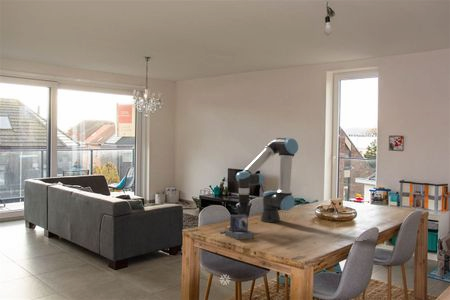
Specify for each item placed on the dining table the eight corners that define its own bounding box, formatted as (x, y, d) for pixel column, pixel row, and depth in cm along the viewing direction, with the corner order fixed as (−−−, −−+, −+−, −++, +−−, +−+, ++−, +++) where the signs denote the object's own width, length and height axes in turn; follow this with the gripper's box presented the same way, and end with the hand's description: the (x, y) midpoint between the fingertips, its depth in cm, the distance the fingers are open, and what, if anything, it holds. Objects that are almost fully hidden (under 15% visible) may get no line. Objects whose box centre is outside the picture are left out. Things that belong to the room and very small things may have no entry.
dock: (234, 230, 270) (234, 226, 270) (253, 237, 253) (253, 232, 253) (219, 233, 263) (219, 228, 263) (239, 240, 246) (239, 235, 246)
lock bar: (241, 229, 271) (241, 224, 271) (244, 230, 269) (244, 225, 269) (226, 232, 264) (226, 226, 264) (228, 233, 261) (228, 227, 261)
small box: (232, 232, 251) (232, 216, 251) (229, 230, 257) (229, 214, 257) (248, 231, 254) (248, 215, 253) (244, 229, 260) (245, 214, 260)
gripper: (247, 192, 277) (247, 225, 277) (233, 193, 269) (232, 227, 270) (254, 193, 271) (254, 227, 271) (239, 195, 263) (239, 229, 264)
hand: (243, 227), depth 271 cm, fingers closed
